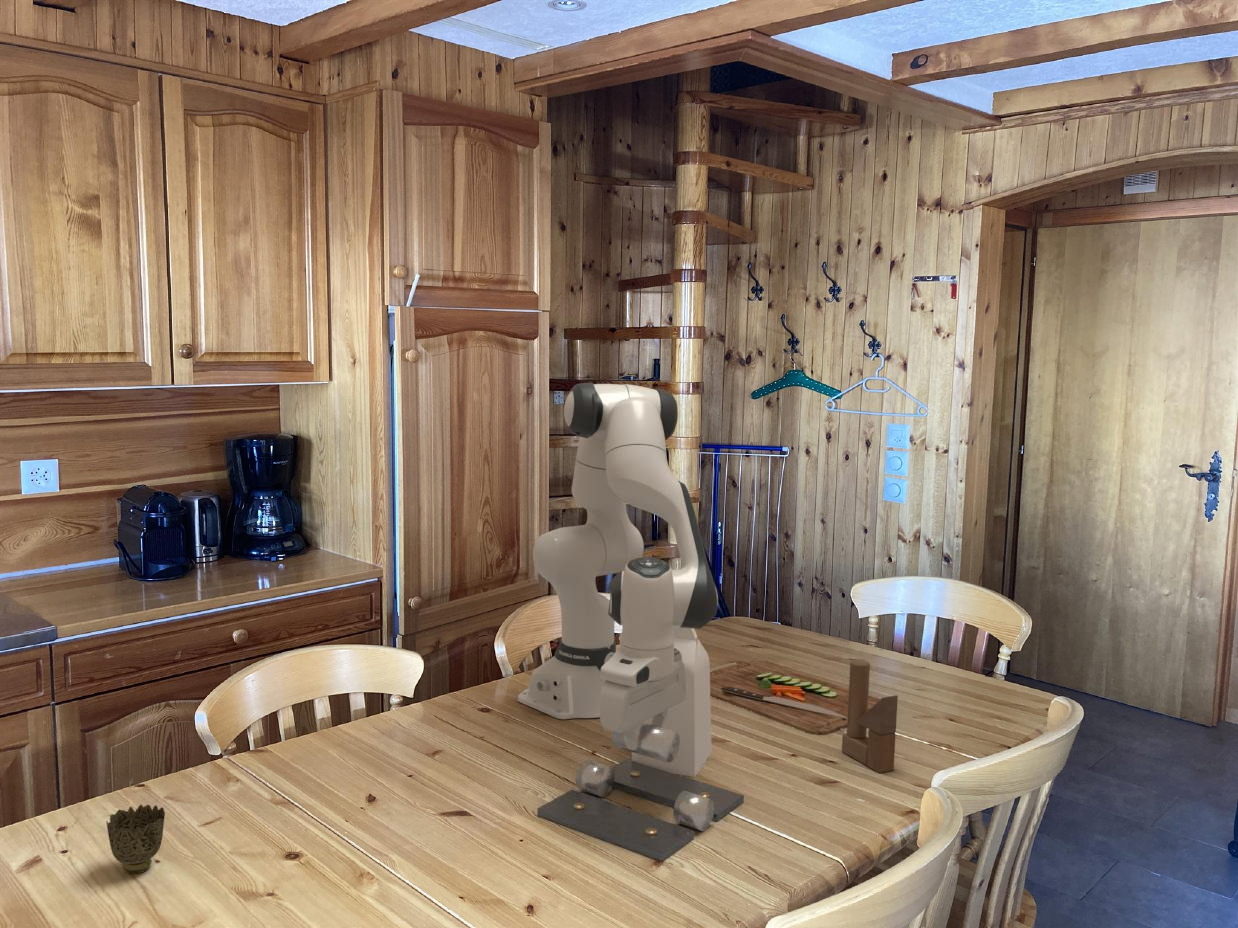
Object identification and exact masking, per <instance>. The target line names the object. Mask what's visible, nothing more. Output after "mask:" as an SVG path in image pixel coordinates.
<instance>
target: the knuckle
mask: <svg viewBox="0 0 1238 928" xmlns="http://www.w3.org/2000/svg"><path fill="white" fill-rule="evenodd" d="M636 733H637V737H640V738H641V743H640V744H641V746H640V748H638V749H636V750H630V749H628V748H627V738H626V736H625V734H624V732H622V733H615V732H611V742H612V746H613V747H615V748H618V749H620V750H624V751H627V752H630V753H632V752H634V753H638V754H641V755H644V756H648V757H651V758H654V759H658V760H661V761H664V762H668V763H669V762H671V761H673V760H674V758H675V757H676V755H677V753H678V750H679V745H680V738H679V734H678V733H677V732H676V731H673V730H669V729H666V728H662V727H658V726H655V725H651V724H647V723H644V722H642V723H640V724H638V730H636Z"/></svg>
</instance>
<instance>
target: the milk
mask: <svg viewBox="0 0 1238 928" xmlns="http://www.w3.org/2000/svg"><path fill="white" fill-rule="evenodd" d="M672 633H673V637H674V648H676V649H677V650H679V652H680V653H681V655H682V662H683V663H684V666H685V674H686V696H685V699H684V701H683V702H681V703H679V704H677V705H675V706H673V707H671V708H669V709H667V716H666V719H665V722H664V724H663V728H666V729H669V730H673V731H676V732H677V733H678V734H679V738H680V745H679V750H678V753H677V755H676V757H675V758H674V760H673V761H671V762H669V763H668V762H664V761H661V760H658V759H654V758H651V757H648V756H644V755H641V754H638V753H634V752H631V759H630V760H631V761H634V762H637V763H641V764H644V765H647V766H650V767H654V768H657V769H660V770H663V771H667V772H670V773H673V774H677V775H680V776H687V777H691V778H692V777H693V778H696V776H697V774H698V773H699V772H700V770H701V769H702V768H703V766H704V765H705V763H706V762H707V761H708V759H709V757H710V756H711V754H712V717H711V716H712V714H711V708H712V707H711V696H710V669H711V668H710V666H711V665H710V658H709V654H708V653H707V650H706V649H705V648H704V646H703V644H702V642H701V641H700V640H699V639H698V635H697V632H696V629H692V628H681V627H672ZM652 720H653V717H651V718H650V719H648V720H646V721H644V723H647V724H651V725H652Z"/></svg>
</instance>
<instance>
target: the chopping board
mask: <svg viewBox="0 0 1238 928" xmlns="http://www.w3.org/2000/svg"><path fill="white" fill-rule="evenodd" d="M736 663H737V662H736V661H735V662H731V663H729V664H728V663H727V664H724V665H721V666H716V667H714V668H713V667H712V668H710V671H712V672H710V697H711V696H712V697H711V698H713V697H715V698H714V699H716V698H717V699H716V700H719V699H720V700H719V701H721V700H722V701H721V702H724V701H725V702H724V703H727V702H728V703H727V704H729V703H730V704H729V705H732V704H733V705H732V706H734V705H736V706H735V707H737V708H740V707H741V708H740V709H742V708H744V709H743V710H745V709H746V710H745V711H748V712H750V711H752V712H751V713H753V714H755V715H758V714H759V715H758V716H761V717H763V716H764V718H766V717H767V719H769V720H771V719H772V721H774V720H775V721H774V722H777V723H779V722H780V724H782V723H783V724H782V725H785V726H787V725H788V727H790V726H791V728H792V727H794V728H793V729H795V728H796V729H795V730H798V731H800V730H801V732H803V731H804V733H806V734H809V733H810V734H809V735H814V734H817V735H816V736H826V735H830V734H832V733H836V732H838V731H841V732H843V733H842V735H843V734H846V733H847V721H848V700H849V688H847V687H844V686H841V685H838V684H835V683H831V682H828V681H826V680H822V679H819V678H816V677H814V676H813V677H812V676H810V675H806V674H804V673H801V672H797V671H794V670H791V669H788V668H785V667H782V666H779V665H777V664H773V663H770V662H767V661H761V660H750V661H745V662H742V663H737V665H734V666H730V667H726V666H728V665H732V664H736ZM722 667H726V668H723V669H719V668H722ZM739 668H741V669H739ZM716 669H719V670H716ZM713 670H715V671H713ZM732 670H733V671H732ZM729 671H731V672H729ZM880 699H881V698H877V697H875V696H871V695H869V694H868V710H869V709H870V708H871V707H873V706H874V705H875V704H876V703H877V702H878V701H879V700H880Z"/></svg>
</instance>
